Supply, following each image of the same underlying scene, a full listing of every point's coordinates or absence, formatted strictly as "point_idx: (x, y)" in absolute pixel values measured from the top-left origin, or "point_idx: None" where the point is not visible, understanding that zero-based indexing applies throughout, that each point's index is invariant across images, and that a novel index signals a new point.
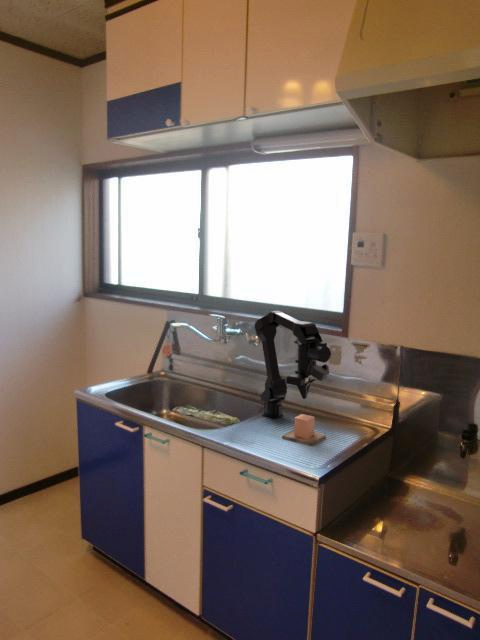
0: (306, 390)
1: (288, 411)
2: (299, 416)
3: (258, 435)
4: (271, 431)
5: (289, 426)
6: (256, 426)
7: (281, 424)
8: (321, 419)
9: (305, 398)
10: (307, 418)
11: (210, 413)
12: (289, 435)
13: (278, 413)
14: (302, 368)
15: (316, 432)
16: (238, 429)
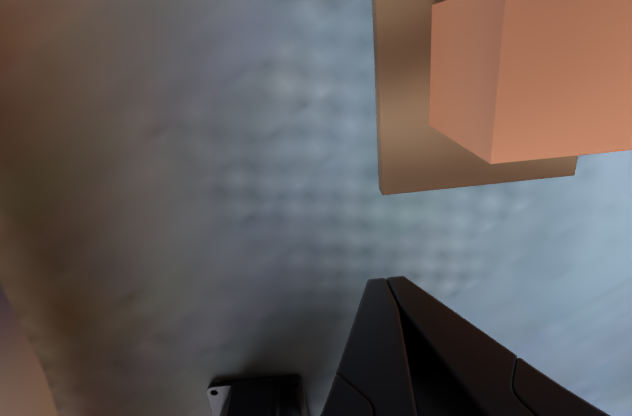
0: (486, 369)
1: (139, 392)
2: (584, 132)
3: (587, 289)
4: (490, 277)
5: (348, 254)
6: None
7: (351, 303)
8: (69, 182)
9: (398, 277)
10: (614, 15)
11: None
12: None
13: (271, 392)
14: None
15: (376, 17)
16: None
